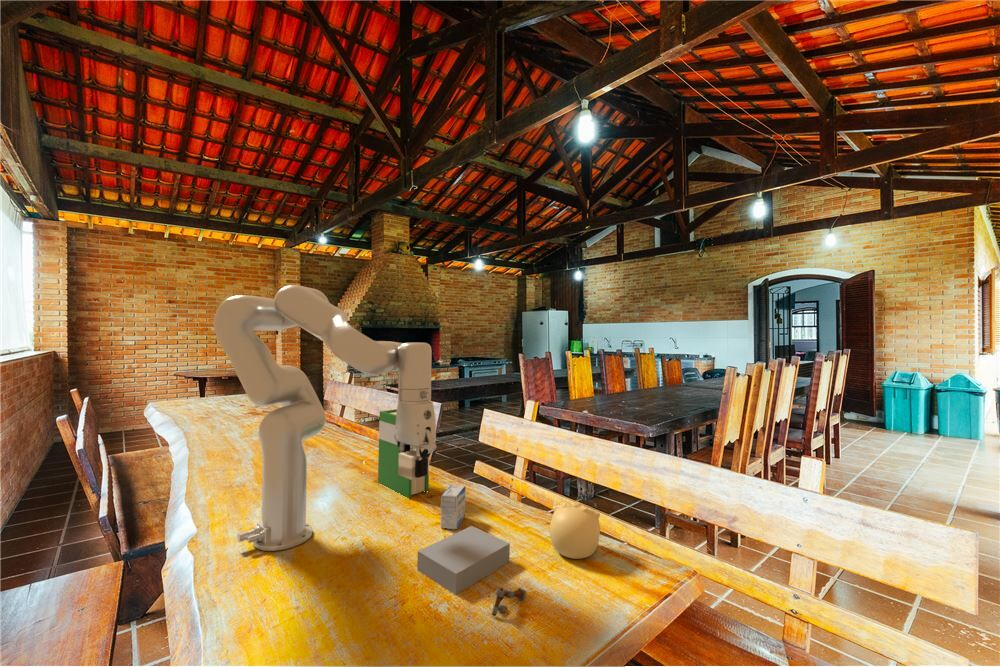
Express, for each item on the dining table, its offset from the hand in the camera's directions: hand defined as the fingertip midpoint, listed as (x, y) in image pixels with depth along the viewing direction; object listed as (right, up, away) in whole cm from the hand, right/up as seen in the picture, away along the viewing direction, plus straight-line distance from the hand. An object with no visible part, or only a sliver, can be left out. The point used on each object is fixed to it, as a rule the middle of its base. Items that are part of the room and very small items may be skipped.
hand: (413, 472), depth 96 cm
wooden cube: (0, -1, 0) cm, 1 cm away
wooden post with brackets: (+22, -18, -20) cm, 35 cm away
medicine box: (+8, -18, +13) cm, 24 cm away
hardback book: (-11, -18, +37) cm, 43 cm away
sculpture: (+37, -19, 0) cm, 42 cm away
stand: (+12, -18, -7) cm, 23 cm away
